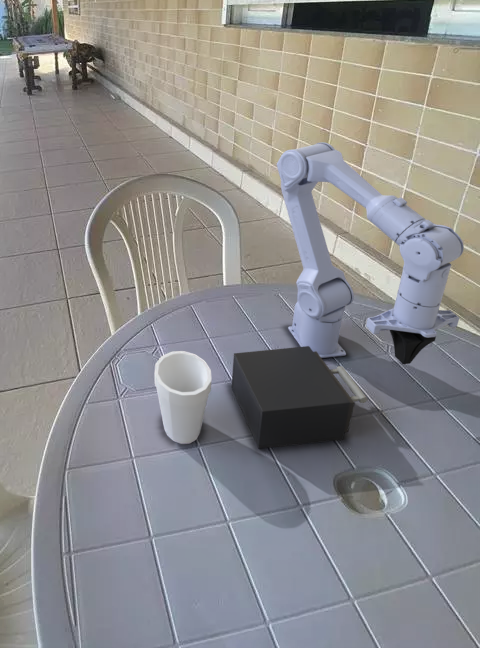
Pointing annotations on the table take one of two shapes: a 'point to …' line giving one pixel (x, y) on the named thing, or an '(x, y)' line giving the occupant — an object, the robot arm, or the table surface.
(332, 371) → the sliding drawer
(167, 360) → the foam cup
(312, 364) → the black drawer box
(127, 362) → the table surface
